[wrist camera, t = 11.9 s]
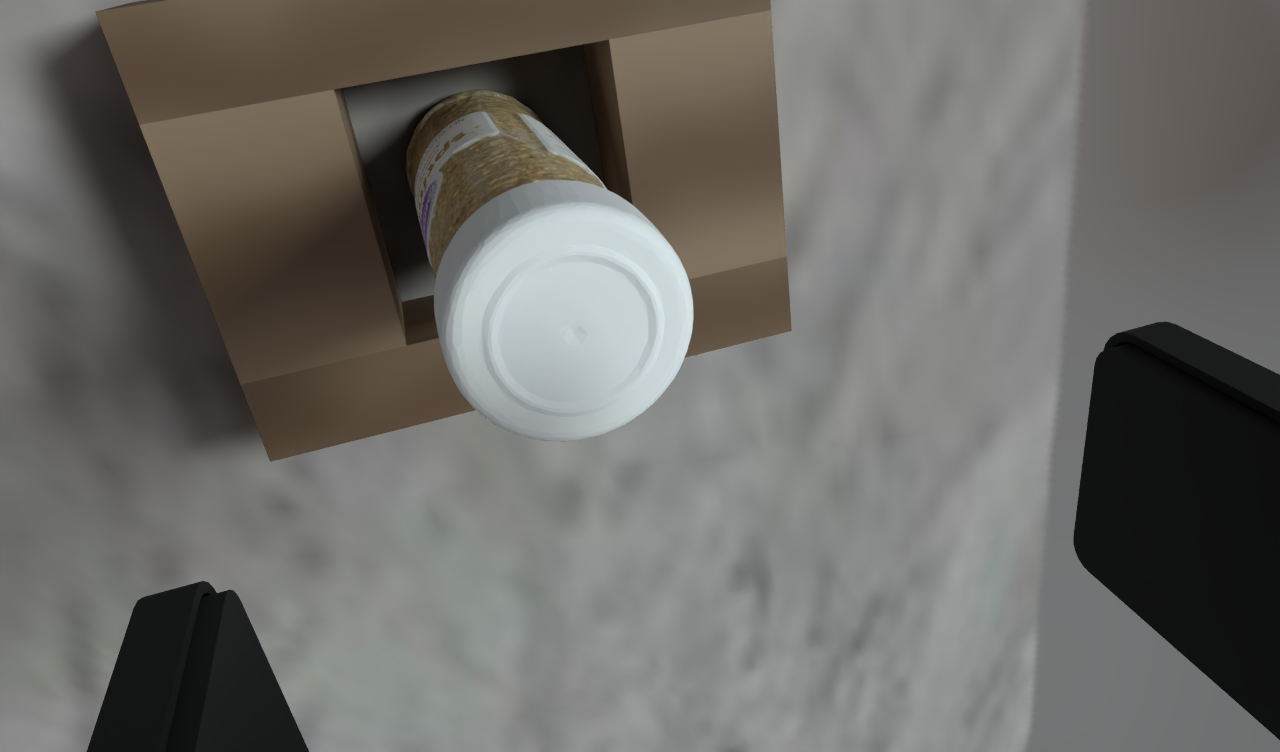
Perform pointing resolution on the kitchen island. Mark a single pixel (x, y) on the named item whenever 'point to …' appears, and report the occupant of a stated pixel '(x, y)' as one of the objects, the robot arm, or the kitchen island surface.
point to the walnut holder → (341, 198)
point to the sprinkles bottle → (542, 275)
